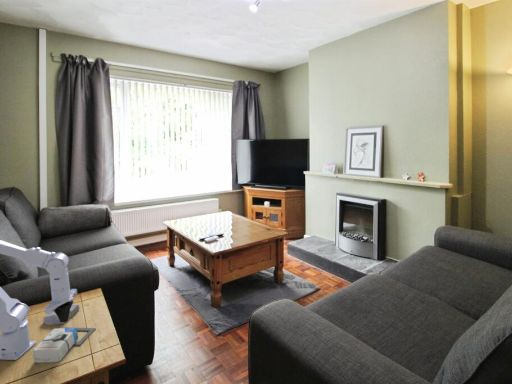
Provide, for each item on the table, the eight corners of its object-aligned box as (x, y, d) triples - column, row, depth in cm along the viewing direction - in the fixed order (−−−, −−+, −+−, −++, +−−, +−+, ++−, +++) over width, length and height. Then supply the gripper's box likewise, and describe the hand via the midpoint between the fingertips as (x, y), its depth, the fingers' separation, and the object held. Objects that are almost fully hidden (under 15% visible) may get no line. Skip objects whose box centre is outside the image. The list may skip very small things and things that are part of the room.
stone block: (42, 329, 123) (65, 324, 123) (38, 318, 123) (62, 313, 122) (60, 314, 135) (82, 310, 135) (57, 304, 134) (79, 300, 134)
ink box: (77, 327, 112) (58, 349, 101) (78, 338, 113) (59, 362, 101) (53, 327, 112) (31, 350, 100) (55, 339, 113) (34, 363, 101)
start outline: (80, 345, 110) (80, 344, 110) (43, 344, 111) (43, 343, 111) (95, 329, 120) (95, 328, 120) (62, 328, 120) (61, 327, 120)
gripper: (56, 297, 102) (61, 333, 104) (83, 278, 116) (86, 310, 118) (37, 296, 102) (41, 333, 105) (65, 278, 117) (69, 310, 119)
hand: (64, 321), depth 112 cm, fingers closed
